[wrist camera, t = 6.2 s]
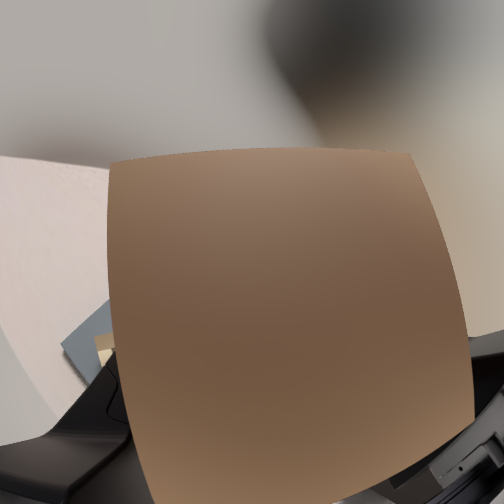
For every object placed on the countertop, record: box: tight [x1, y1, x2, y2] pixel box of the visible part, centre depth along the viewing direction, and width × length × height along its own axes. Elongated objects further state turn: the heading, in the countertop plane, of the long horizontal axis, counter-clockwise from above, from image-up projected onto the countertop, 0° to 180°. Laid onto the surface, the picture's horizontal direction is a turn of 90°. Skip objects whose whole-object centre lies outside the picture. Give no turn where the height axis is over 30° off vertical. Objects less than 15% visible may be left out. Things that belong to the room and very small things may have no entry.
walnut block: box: [107, 148, 475, 504], centre depth 9 cm, size 4×4×13 cm
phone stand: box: [370, 469, 443, 504], centre depth 14 cm, size 9×6×12 cm, turn 46°
